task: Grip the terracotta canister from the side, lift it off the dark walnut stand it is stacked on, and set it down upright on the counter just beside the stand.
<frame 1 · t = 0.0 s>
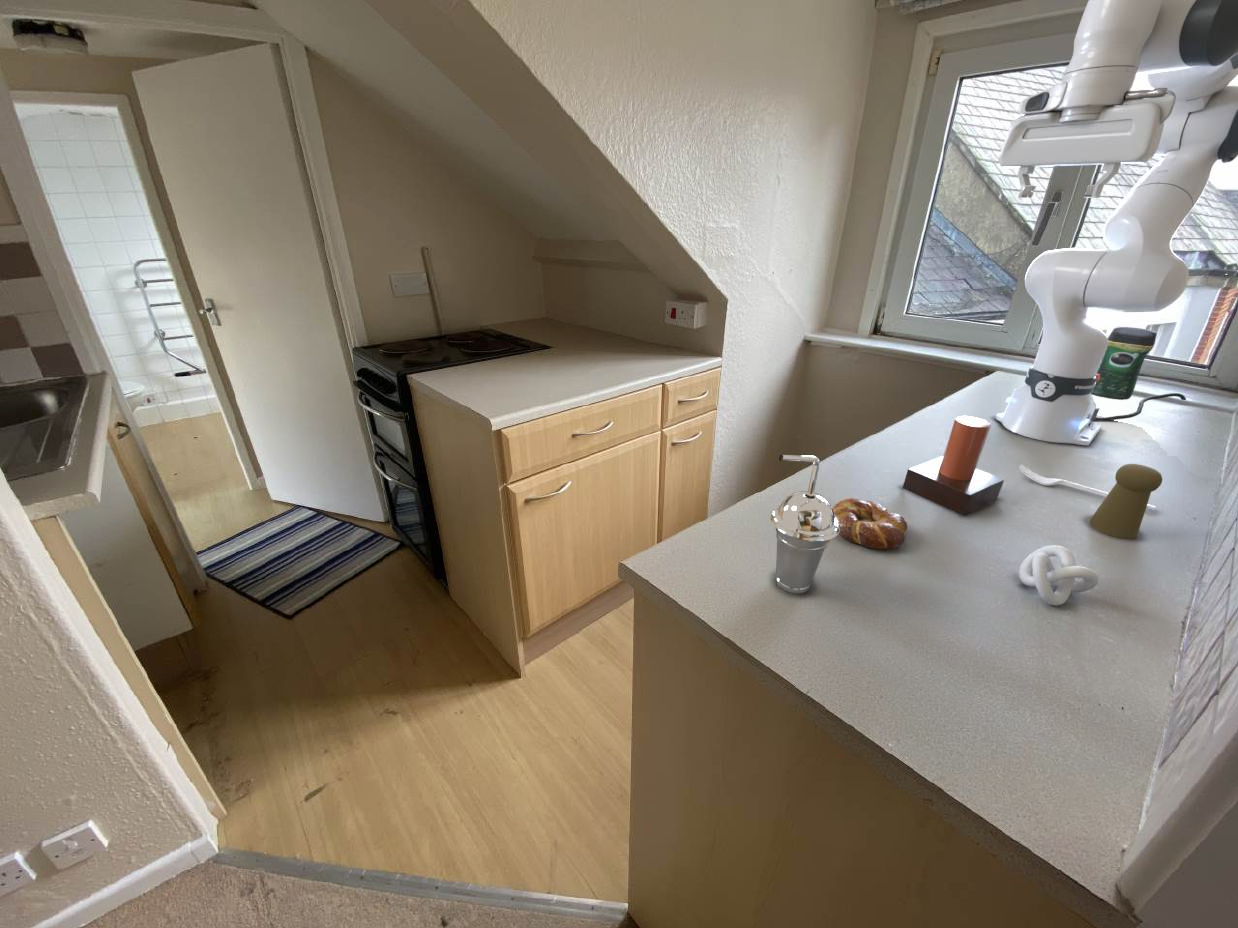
hand: (1056, 197, 87), 48 cm above the counter, tool pointing down, fingers open, 8 cm apart
knot: (1044, 594, 71), on the counter
coffee jar: (1106, 396, 146), on the counter
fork: (1081, 492, 97), on the counter
cork: (1112, 529, 86), on the counter
pretzel: (864, 531, 84), on the counter
canister: (955, 474, 94), point 4 cm above the counter, touching stand
stand: (948, 493, 95), on the counter
cup with straw: (790, 583, 72), on the counter
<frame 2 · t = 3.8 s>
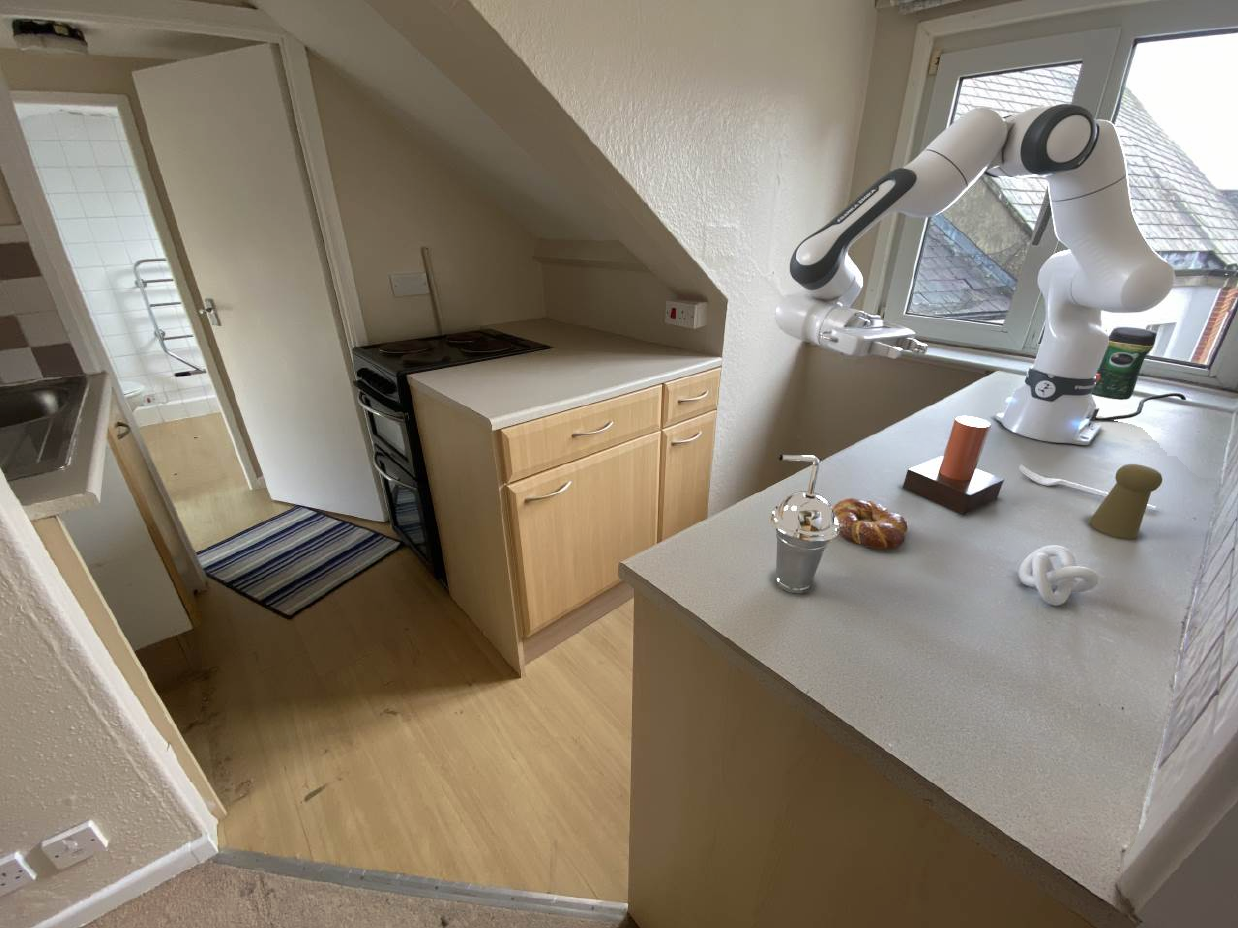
hand: (912, 352, 96), 23 cm above the counter, tool horizontal, fingers open, 8 cm apart
nothing on the counter moved.
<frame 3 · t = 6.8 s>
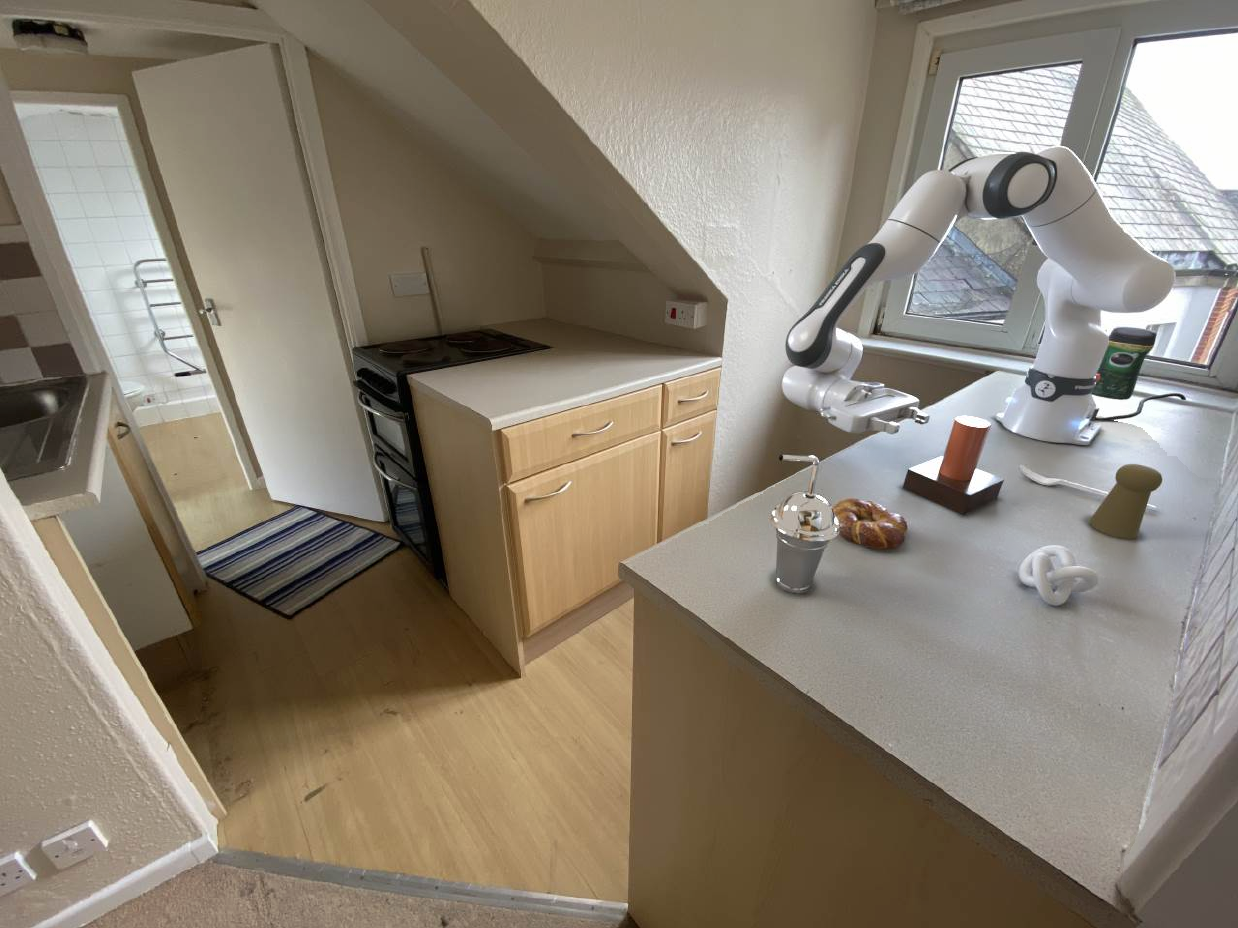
hand: (912, 424, 98), 10 cm above the counter, tool horizontal, fingers open, 8 cm apart
nothing on the counter moved.
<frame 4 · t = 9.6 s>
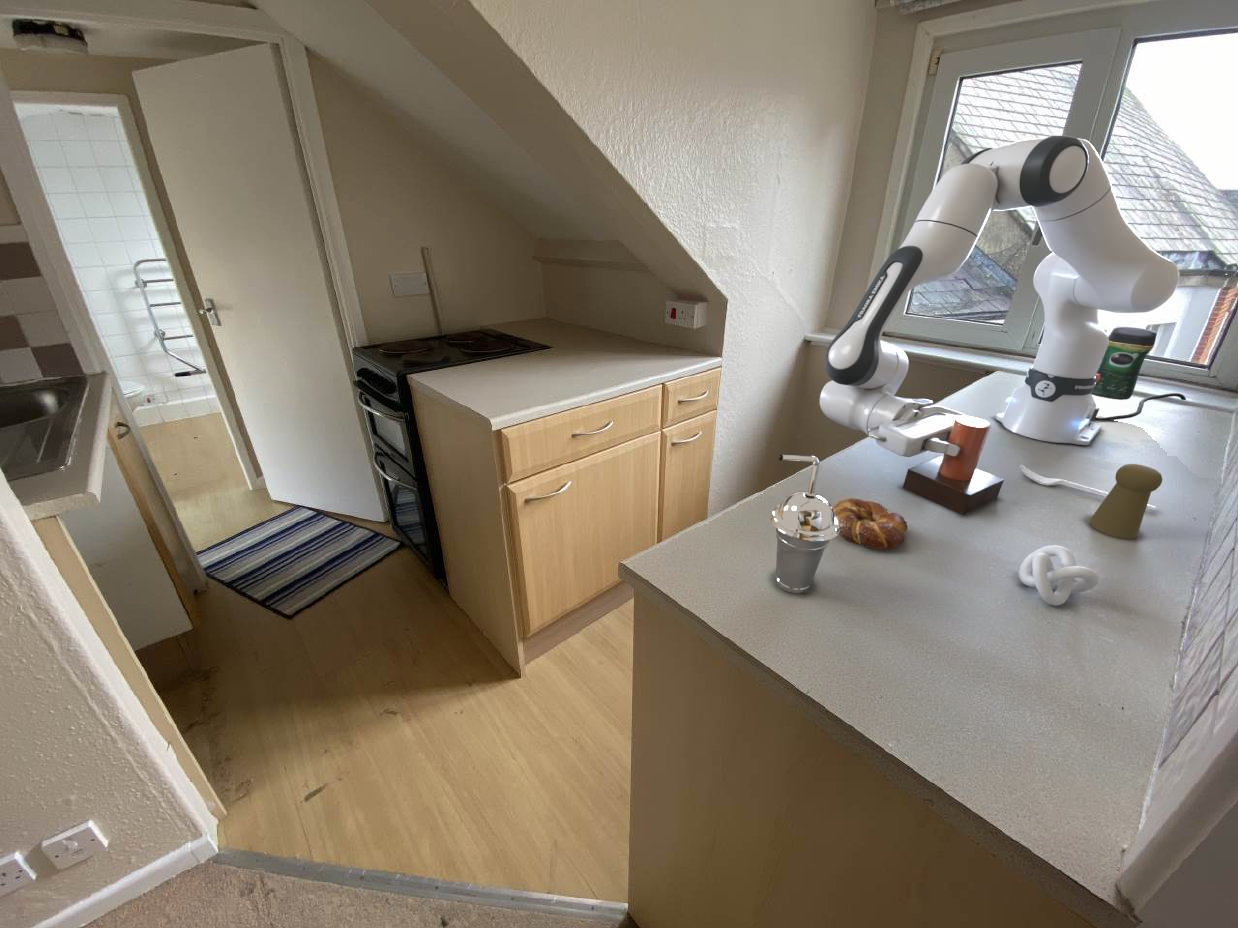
hand: (970, 447, 90), 10 cm above the counter, tool horizontal, fingers closed on canister, 5 cm apart
canister: (955, 474, 94), point 4 cm above the counter, touching gripper, stand
everything else where it was.
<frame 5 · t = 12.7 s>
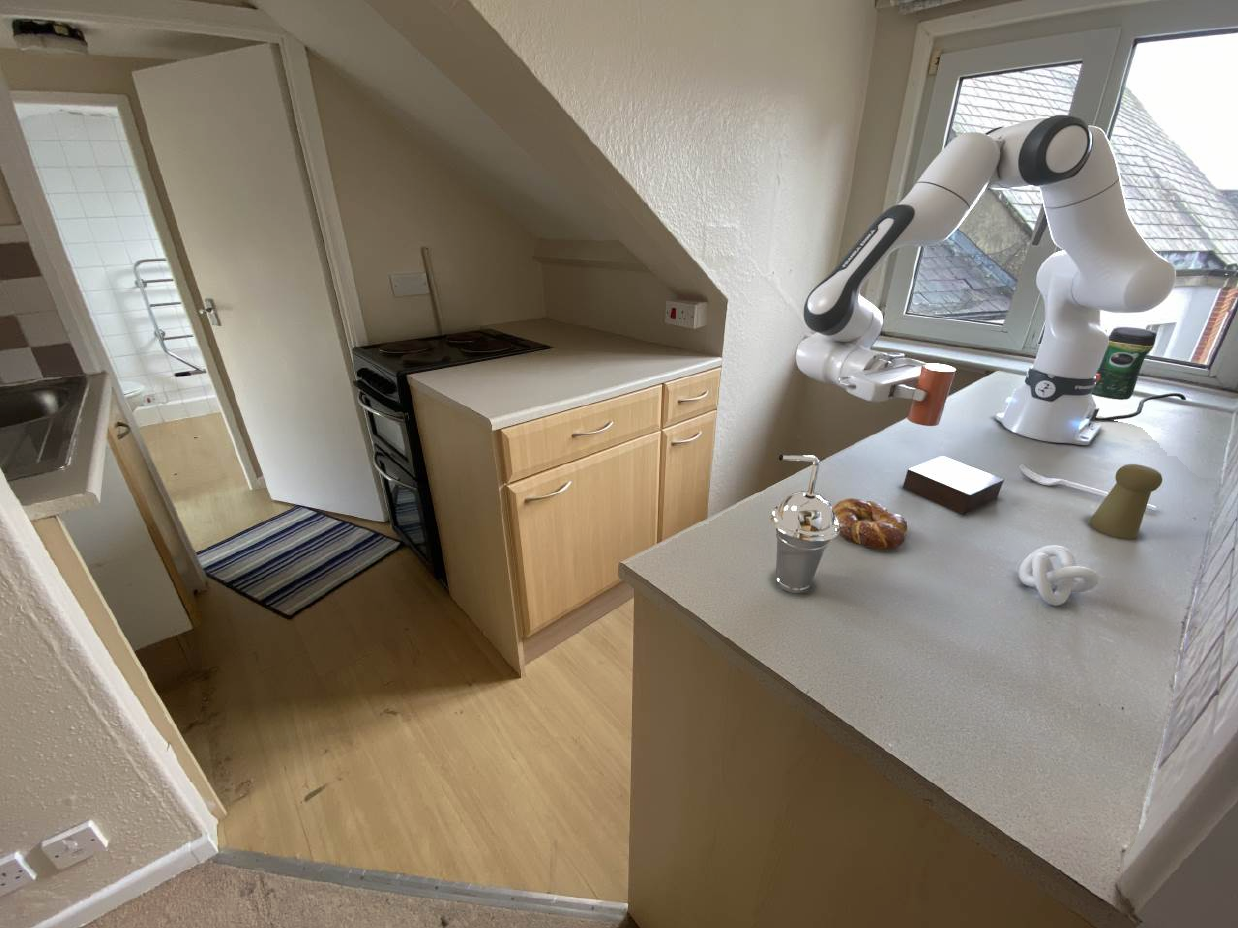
hand: (936, 393, 93), 17 cm above the counter, tool horizontal, fingers closed on canister, 5 cm apart
canister: (922, 420, 96), point 11 cm above the counter, touching gripper
everything else where it was.
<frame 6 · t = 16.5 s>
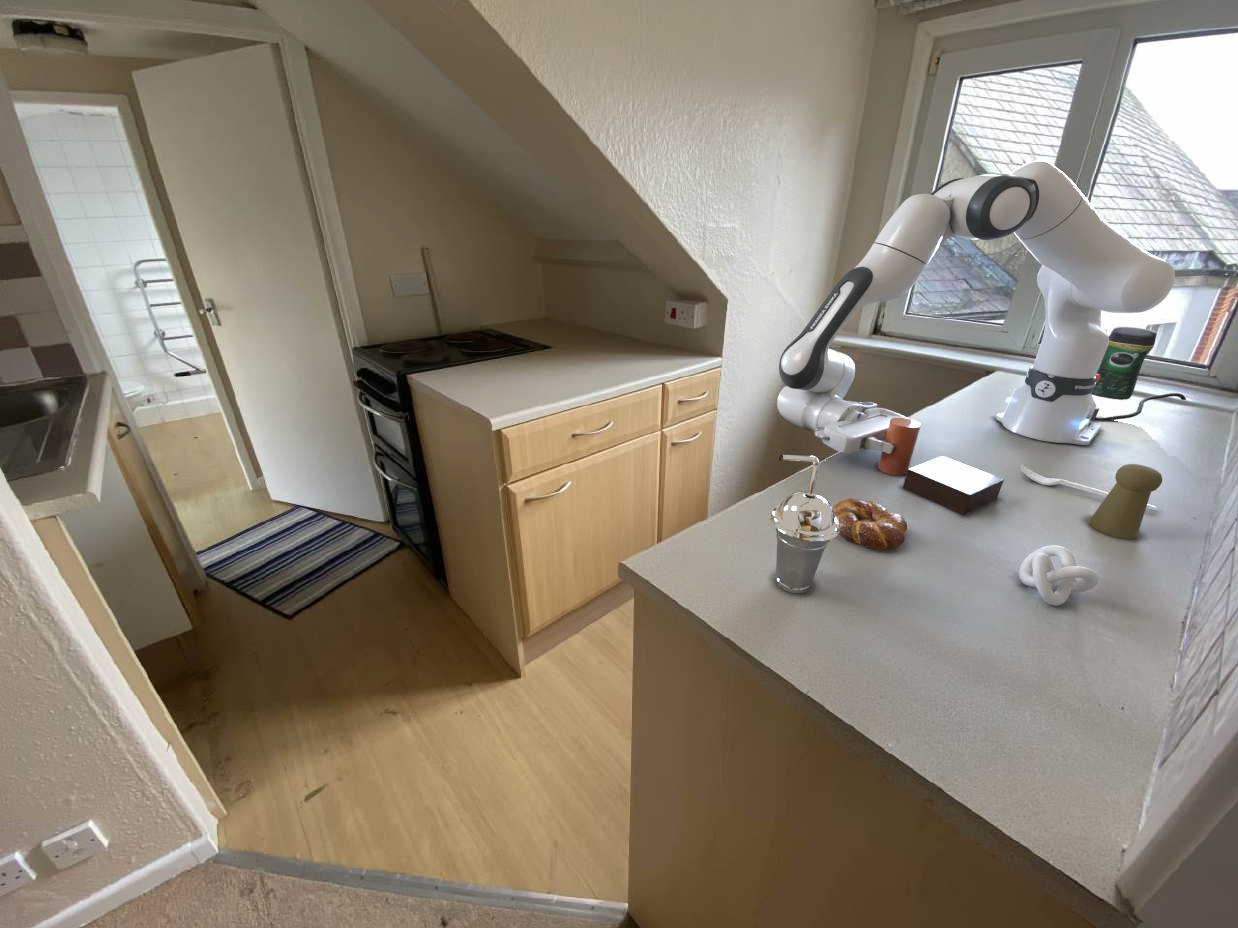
hand: (903, 445, 101), 6 cm above the counter, tool horizontal, fingers closed on canister, 5 cm apart
canister: (892, 469, 104), on the counter, touching gripper
everything else where it was.
when the fingers open (5 cm above the counter, at t = 16.6 s): canister stays where it is, on the counter.
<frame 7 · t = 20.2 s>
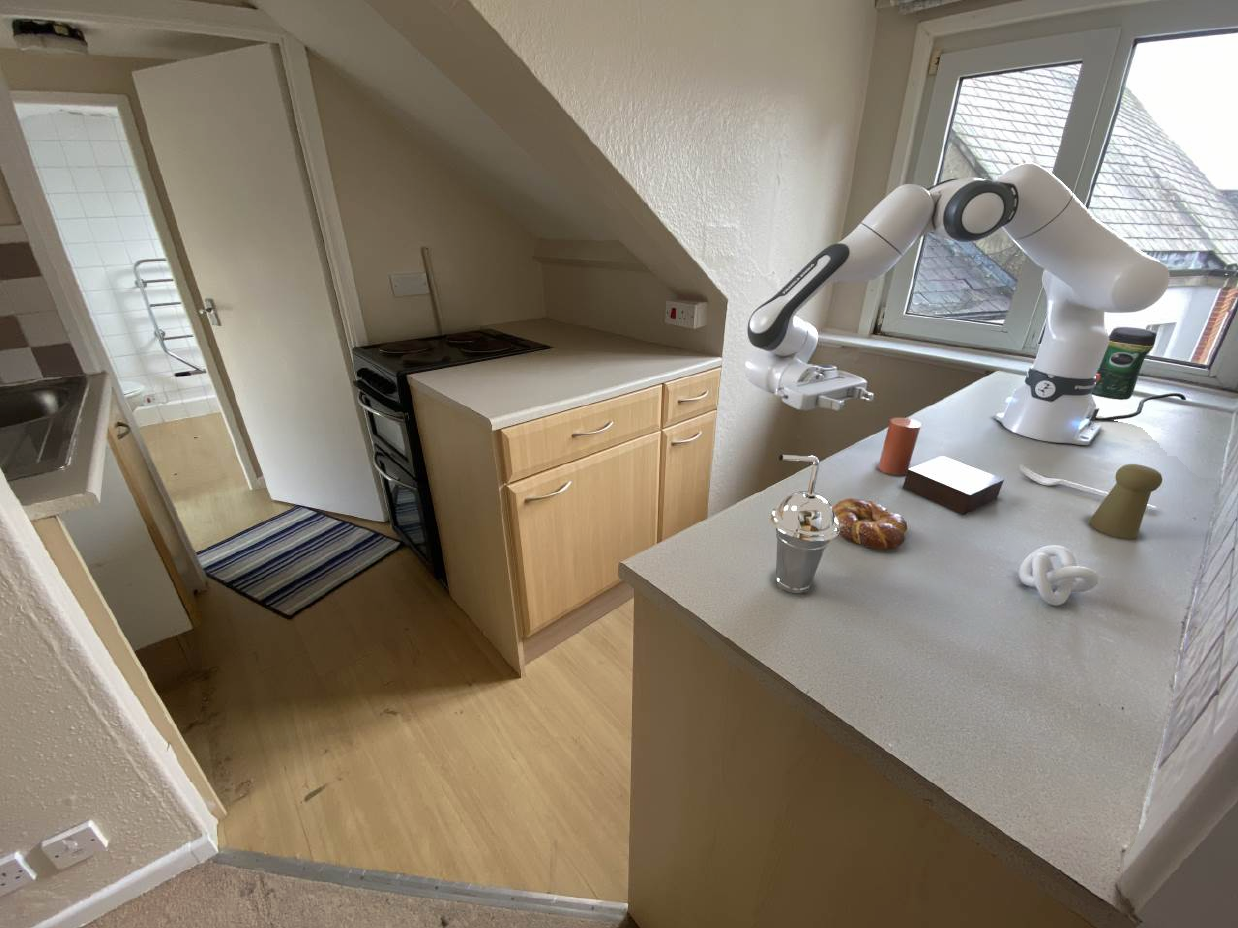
hand: (856, 402, 107), 11 cm above the counter, tool horizontal, fingers open, 8 cm apart
canister: (892, 469, 104), on the counter
everything else where it was.
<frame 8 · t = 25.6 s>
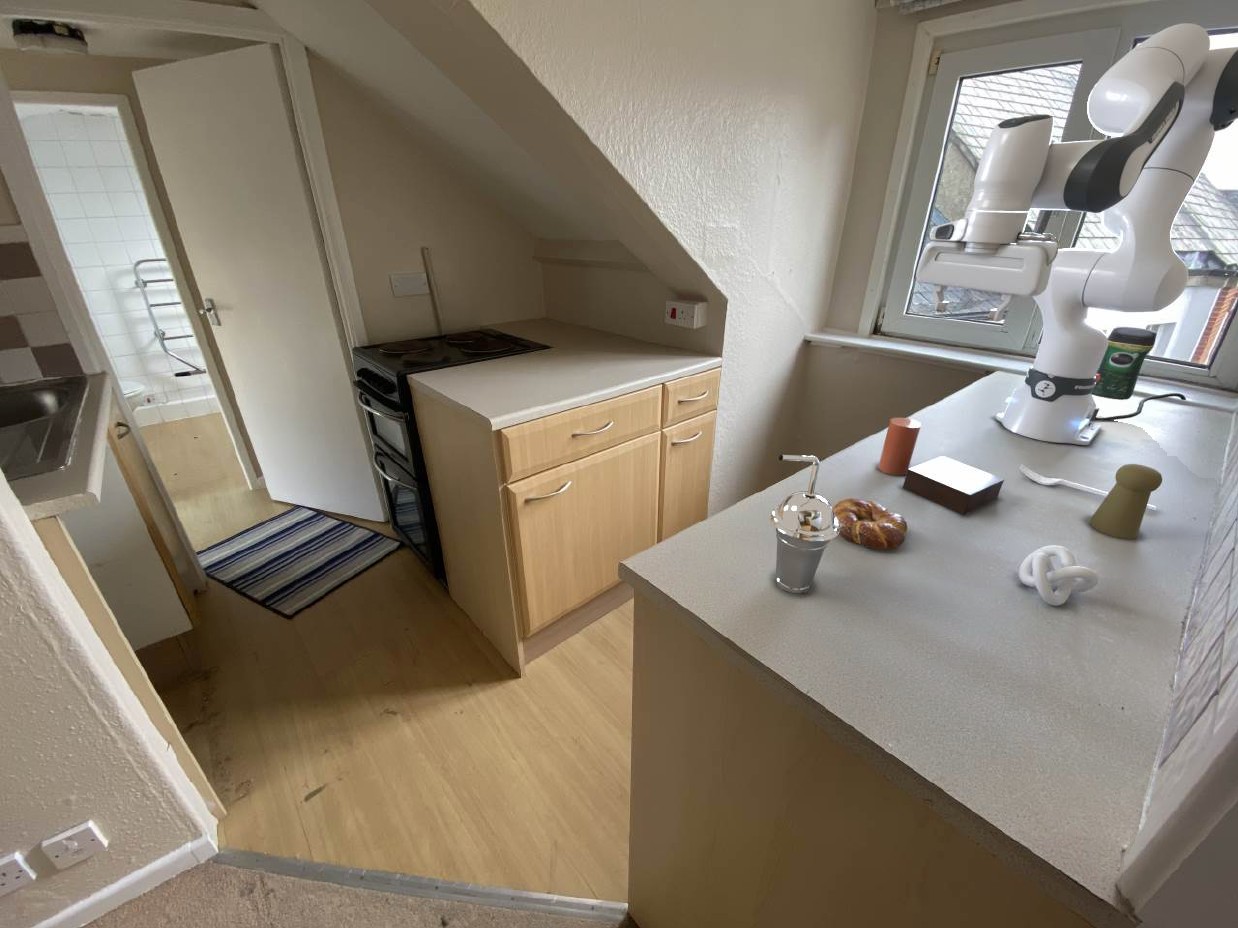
hand: (965, 316, 94), 29 cm above the counter, tool pointing down, fingers open, 8 cm apart
nothing on the counter moved.
at the end: canister inside the target area (0.8 cm from its centre), on the counter; canister tilted 0°; the gripper is holding nothing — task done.
